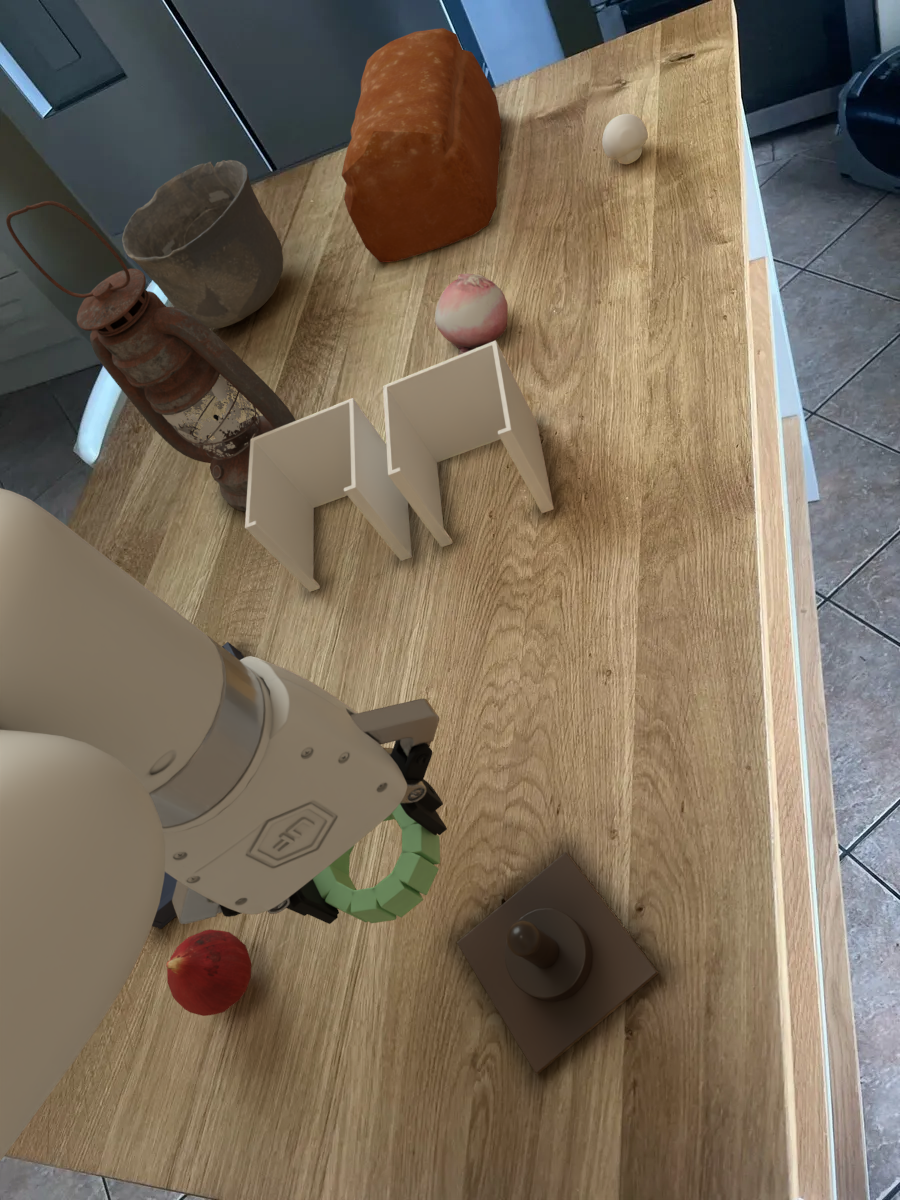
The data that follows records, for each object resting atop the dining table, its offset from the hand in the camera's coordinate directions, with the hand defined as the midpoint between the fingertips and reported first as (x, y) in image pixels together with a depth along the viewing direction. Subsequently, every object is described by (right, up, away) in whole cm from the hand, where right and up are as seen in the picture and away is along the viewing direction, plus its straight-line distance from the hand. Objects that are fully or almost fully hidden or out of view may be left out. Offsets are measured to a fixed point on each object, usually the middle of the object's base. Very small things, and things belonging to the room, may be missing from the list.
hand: (376, 854), depth 50 cm
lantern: (-16, +28, +50) cm, 60 cm away
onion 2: (+8, +42, +47) cm, 63 cm away
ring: (0, 0, +1) cm, 1 cm away
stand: (+11, -10, +11) cm, 18 cm away
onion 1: (-12, -15, +20) cm, 28 cm away
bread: (+3, +66, +65) cm, 92 cm away
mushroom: (+24, +64, +52) cm, 86 cm away
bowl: (-22, +53, +70) cm, 90 cm away
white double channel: (+1, +23, +37) cm, 44 cm away
